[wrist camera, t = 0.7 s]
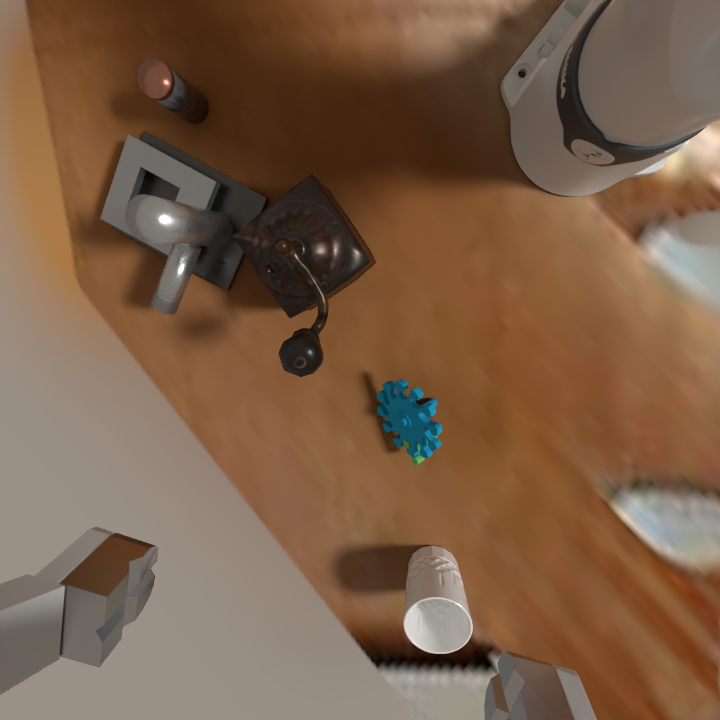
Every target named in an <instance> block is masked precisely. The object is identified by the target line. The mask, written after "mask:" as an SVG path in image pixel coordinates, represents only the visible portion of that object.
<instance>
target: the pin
mask: <svg viewBox="0 0 720 720" xmlns="http://www.w3.org/2000/svg"><path fill="white" fill-rule="evenodd" d="M137 82H138V85H139V87H140V89H141V91H142V92H143V93H144V94H145V95H147V96H148V97H150V98H152V99H153V100H155V101H156V102H158V103H160V104H161V105H163V106H164V107H166V108H167V109H169V110H171V111H172V112H174V113H175V114H177V115H179V116H180V117H182V118H183V119H185V120H186V121H188V122H190V123H194V124H196V123H200V122H202V121H203V120H204V119H205V118H206V116H207V114H208V102H207V100H206V98H205V96H204V95H203V94H202V93H200V92H199V91H198V90H197V89H195V88H194V87H193V86H192V85H190V84H189V83H188V82H187V81H186V80H184V79H183V78H182V77H181V76H179V75H178V74H177V73H176V72H174V71H173V70H172V69H171V68H169V67H168V66H167V65H166V64H165V63H163V62H162V61H161V60H159V59H156V58H148V59H146V60H144V61H143V62H142V63H141V64H140V66H139V68H138V71H137Z"/></svg>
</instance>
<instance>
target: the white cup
mask: <svg viewBox="0 0 720 720" xmlns="http://www.w3.org/2000/svg"><path fill="white" fill-rule="evenodd" d="M404 630H405V633H406V635H407V637H408V638H409V640H410V641H411V642H412V643H413V644H414V645H416V646H417V647H418V648H420V649H422V650H424V651H427V652H430V653H436V654H445V653H450V652H454V651H456V650H458V649H460V648H461V647H463V646H464V645H465V644H466V643H467V642H468V640H469V639H470V637H471V634H472V620H471V616H470V612H469V607H468V603H467V599H466V594H465V590H464V587H463V583H462V579H461V576H460V573H459V569H458V564H457V561H456V560H455V558H454V556H453V555H452V553H450V552H449V551H447V550H446V549H444V548H443V547H438V546H433V545H431V546H426V547H421V548H420V549H418V550H417V551H416V552H414V553H413V554H412V556H411V558H410V560H409V563H408V576H407V582H406V593H405V609H404Z"/></svg>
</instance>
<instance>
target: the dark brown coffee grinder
mask: <svg viewBox="0 0 720 720" xmlns="http://www.w3.org/2000/svg"><path fill="white" fill-rule="evenodd" d="M233 237H234V239H235V240H236V242H237V243H238V245H239V246H240V248H241V249H242V251H243V253H244V254H245V256H246V257H247V259H248V260H249V262H250V263H251V264H252V266H253V267H254V269H255V270H256V272H257V273H258V275H259V276H260V278H261V279H262V281H263V282H264V283H265V285H266V286H267V287H268V289H269V290H270V292H271V293H272V295H273V296H274V298H275V299H276V301H277V302H278V303H279V305H280V306H281V307H282V308H283V310H284V311H285V312H286V314H287V315H288V316H289V318H292V317H294V316H296V315H298V314H300V313H302V312H303V311H306V310H311V309H313V308H315V307H316V306H318V316H317V319H316V321H315V323H314V324H313V326H312V327H311V328H310V329H309V328H302V329H300V330H297V331H295V332H294V334H293V336H292V337H291V338H289V339H287V340H286V341H284V342H283V344H282V346H281V348H280V351H279V356H280V359H281V363H282V366H283V368H284V370H285V371H287V372H289V373H292V374H294V375H297V376H300V377H302V376H306V375H309V374H313V373H314V372H315V371H316V370H317V369H318V368H319V367H320V365H321V364H322V361H323V351H322V348H321V344H320V340H319V336H318V335H319V333H320V332H321V330H322V329H323V327H324V326H325V323H326V320H327V317H328V307H329V305H328V301H327V300H328V299H330V298H331V297H333V296H334V295H335V294H337V293H338V292H340V291H341V290H343V289H344V288H346V287H347V286H349V285H350V284H351V283H353V282H354V281H356V280H357V279H358V278H359V277H360V276H362V275H363V274H364V273H365V272H366V271H367V270H368V269H369V268H371V267H372V266H373V265H374V264H375V263H376V262H375V259H374V257H373V255H372V253H371V251H370V249H369V248H368V247H367V245H366V243H365V242H364V240H363V239H362V237H361V236H360V234H359V233H358V231H357V230H356V228H355V227H354V225H353V224H352V222H351V221H350V219H349V218H348V216H347V215H346V214H345V212H344V211H343V209H342V208H341V207H340V205H339V204H338V202H337V201H336V200H335V198H334V197H333V196H332V194H331V193H330V191H329V190H328V188H326V187H325V186H324V185H323V184H321V183H320V182H319V181H318V180H317V179H316V178H315V177H314V176H313V175H310V176H309V177H307V178H306V179H304V180H303V181H302V182H300V183H299V184H297V185H296V186H295V187H293V188H292V189H291V190H289V191H288V192H287V193H286V194H284V195H283V196H282V197H281V198H279V199H278V200H277V201H275V202H274V203H273V204H272V205H270V206H269V207H268V208H266V209H265V210H264V211H263V212H261V213H260V214H259V215H257V216H256V217H255V218H253V219H252V220H251V221H250V222H249V223H247V224H246V225H245V226H244V227H243V228H241V229H240V230H239V231H238V232H237V233H235V234H234V235H233Z"/></svg>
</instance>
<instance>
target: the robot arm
mask: <svg viewBox="0 0 720 720" xmlns="http://www.w3.org/2000/svg"><path fill="white" fill-rule="evenodd" d="M520 71H522V72H524V73H525V77H524V78H520V77H519V76H518V72H520ZM501 94H502V97H503V100H504V102H505V105H506V107H507V109H508V111H509V114H510V122H511V142H512V147H513V151H514V154H515V157H516V160H517V162H518V164H519V166H520V167H521V169H522V170H523V172H524V173H525V174H526V175H527V177H528V178H529V179H530V180H531V181H533V182H534V183H535V184H536V185H538V186H539V187H541V188H542V189H544V190H546V191H549V192H551V193H554V194H558V195H563V196H584V195H589V194H593V193H596V192H599V191H602V190H604V189H606V188H608V187H610V186H612V185H614V184H616V183H617V182H619V181H621V180H624V179H626V178H633V177H641V176H647V175H650V174H653V173H655V172H657V171H658V170H660V169H661V168H662V167H663V166H664V164H665V163H666V161H667V158H668V156H670V155H672V154H674V153H675V152H677V151H679V150H681V149H682V148H684V147H685V146H686V145H687V144H688V142H689V139H691V138H692V137H694V136H695V135H697V134H698V133H699V132H701V131H702V130H703V129H704V128H706V127H707V126H709V125H711V124H714V123H716V122H718V121H720V0H564V1H563V3H562V4H561V5H560V7H559V8H558V9H557V10H556V12H555V13H554V14H553V15H552V17H551V18H550V19H549V21H548V22H547V23H546V24H545V26H544V27H543V28H542V30H541V31H540V32H539V33H538V35H537V36H536V37H535V39H534V40H533V41H532V42H531V44H530V45H529V46H528V48H527V49H526V50H525V51H524V53H523V54H522V55H521V56H520V58H519V59H518V60H517V62H516V63H515V64H514V65H513V67H512V68H511V69H510V71H509V72H508V73H507V74H506V76H505V77H504V79H503V80H502V82H501ZM157 556H158V548H157V547H156V546H155V545H151V544H149V543H146V542H143V541H140V540H137V539H133V538H130V537H127V536H124V535H121V534H118V533H113V532H111V531H107V530H105V529H102V528H99V527H94V528H92V529H89V530H88V531H87V532H85V533H84V534H83V535H82V536H81V537H80V538H78V539H77V540H76V541H75V542H74V543H73V544H71V545H70V546H69V547H68V548H67V549H65V550H64V551H63V552H62V553H61V554H60V555H59V556H57V557H56V558H55V559H54V560H53V561H51V562H50V563H49V564H48V565H47V566H46V567H44V568H43V569H42V570H41V571H40V572H38V573H37V574H36V575H35V576H32V575H28V574H27V575H24V576H21V577H19V578H16V579H13V580H10V581H7V582H4V583H1V584H0V695H1V694H2V693H4V692H5V691H7V690H9V689H10V688H12V687H14V686H16V685H17V684H19V683H20V682H22V681H24V680H25V679H27V678H29V677H30V676H32V675H34V674H35V673H37V672H39V671H40V670H42V669H44V668H45V667H47V666H48V665H50V664H52V663H53V662H55V661H57V660H58V659H59V657H60V656H61V657H64V658H68V659H71V660H75V661H78V662H83V663H86V664H89V665H93V666H96V667H100V666H101V665H102V663H103V662H104V661H105V659H106V658H107V657H108V655H109V654H110V653H111V651H112V650H113V649H114V648H115V646H116V645H117V644H118V642H119V641H120V640H121V636H122V629H123V626H125V625H127V624H129V623H131V622H133V621H135V620H136V618H137V617H138V615H139V614H140V613H141V611H142V610H143V608H144V606H145V604H146V602H147V600H148V598H149V597H150V594H151V591H152V588H153V585H154V579H155V575H154V573H153V572H152V570H151V567H152V566H153V565H154V564H155V562H156V561H157ZM498 668H499V673H500V674H498V675H496V676H494V677H492V678H491V679H490V682H489V685H488V687H487V690H486V697H485V704H484V707H485V720H597V719H596V717H595V715H594V712H593V710H592V707H591V705H590V702H589V700H588V697H587V695H586V693H585V690H584V688H583V685H582V683H581V680H580V678H579V676H578V674H577V673H576V672H575V671H574V670H571V669H568V668H564V667H561V666H557V665H554V664H549V663H547V662H543V661H540V660H536V659H533V658H529V657H526V656H522V655H519V654H516V653H512V652H509V651H505V652H504V653H503V654H501V657H500V659H499V661H498Z"/></svg>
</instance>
